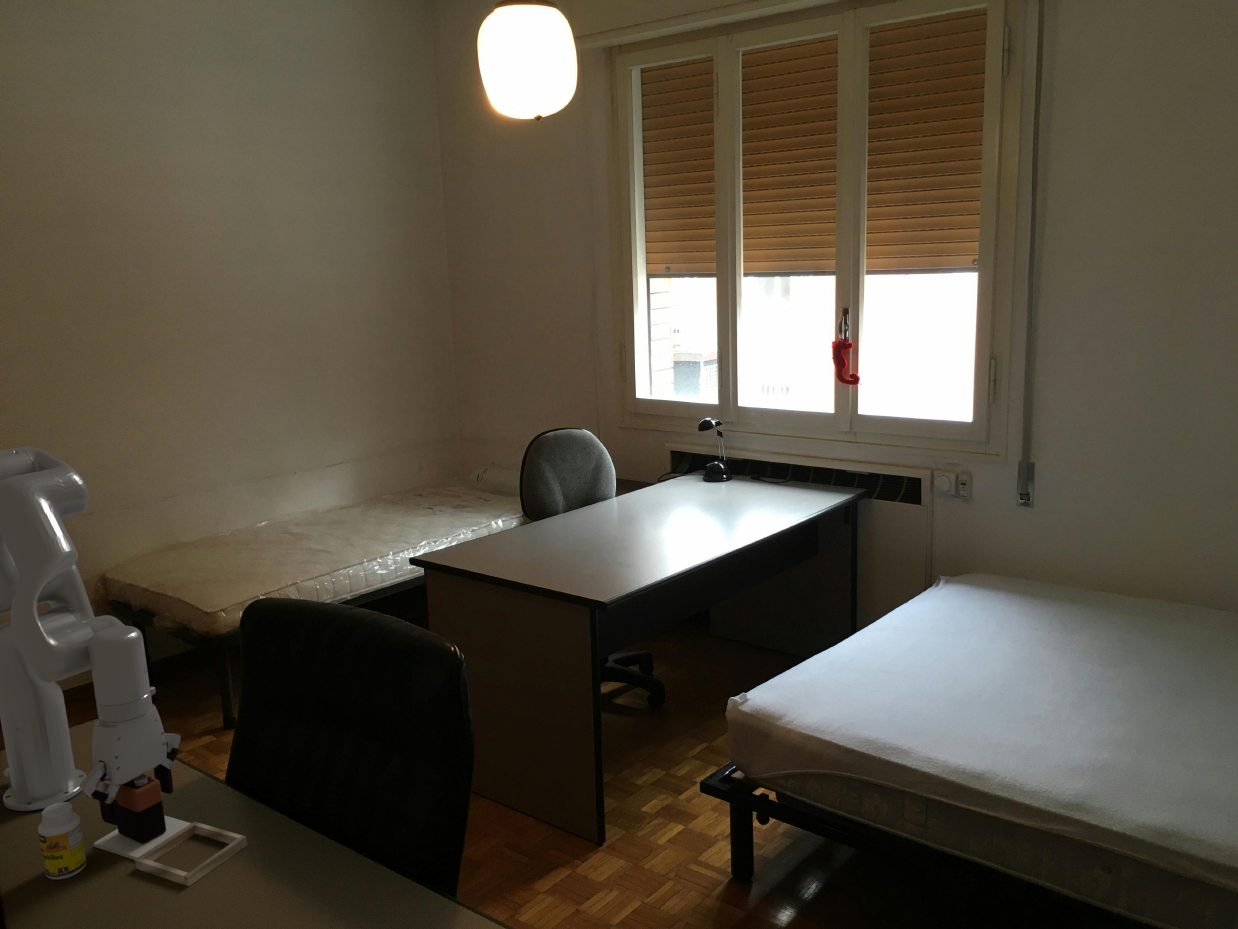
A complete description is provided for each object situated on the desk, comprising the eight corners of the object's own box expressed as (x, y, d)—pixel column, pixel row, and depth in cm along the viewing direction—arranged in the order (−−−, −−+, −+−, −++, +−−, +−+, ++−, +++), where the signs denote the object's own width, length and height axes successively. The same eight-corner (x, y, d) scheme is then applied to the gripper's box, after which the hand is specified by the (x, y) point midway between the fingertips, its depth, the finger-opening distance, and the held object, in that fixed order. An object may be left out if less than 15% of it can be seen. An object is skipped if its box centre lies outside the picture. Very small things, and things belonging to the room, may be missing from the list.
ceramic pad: (94, 846, 152) (93, 843, 152) (148, 813, 160) (148, 810, 160) (138, 861, 147) (137, 857, 147) (191, 826, 156) (191, 823, 156)
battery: (142, 846, 150) (134, 787, 148) (117, 834, 154) (108, 776, 152) (168, 831, 154) (160, 774, 152) (142, 820, 157) (134, 764, 155)
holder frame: (136, 869, 145) (134, 860, 145) (195, 830, 155) (194, 821, 155) (189, 886, 141) (187, 877, 140) (247, 845, 151) (246, 836, 150)
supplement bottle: (36, 878, 144) (26, 816, 142) (67, 857, 149) (57, 796, 147) (65, 884, 142) (55, 821, 140) (96, 862, 147) (86, 801, 145)
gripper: (155, 681, 159) (168, 776, 162) (56, 726, 143) (73, 830, 147) (188, 687, 156) (200, 785, 159) (90, 735, 140) (106, 841, 144)
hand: (139, 806), depth 153 cm, fingers open, 9 cm apart
